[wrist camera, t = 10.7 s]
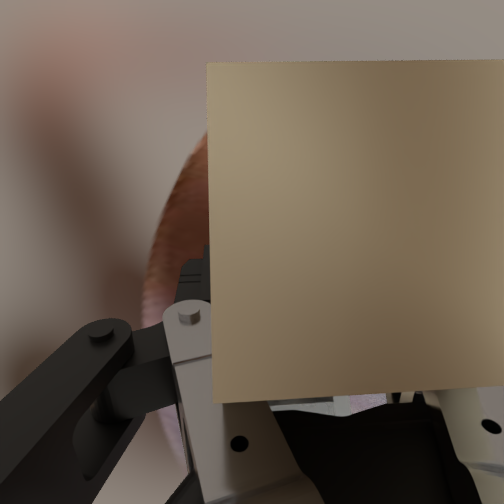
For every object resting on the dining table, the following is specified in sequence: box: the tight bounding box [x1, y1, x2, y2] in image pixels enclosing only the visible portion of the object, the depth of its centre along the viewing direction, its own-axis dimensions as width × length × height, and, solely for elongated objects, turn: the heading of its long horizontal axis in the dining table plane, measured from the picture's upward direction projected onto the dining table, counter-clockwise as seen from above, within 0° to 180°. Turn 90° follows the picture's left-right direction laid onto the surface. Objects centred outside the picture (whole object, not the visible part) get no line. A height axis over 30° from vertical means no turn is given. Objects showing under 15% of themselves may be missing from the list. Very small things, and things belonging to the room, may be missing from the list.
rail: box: [206, 60, 504, 404], centre depth 13 cm, size 4×4×18 cm
